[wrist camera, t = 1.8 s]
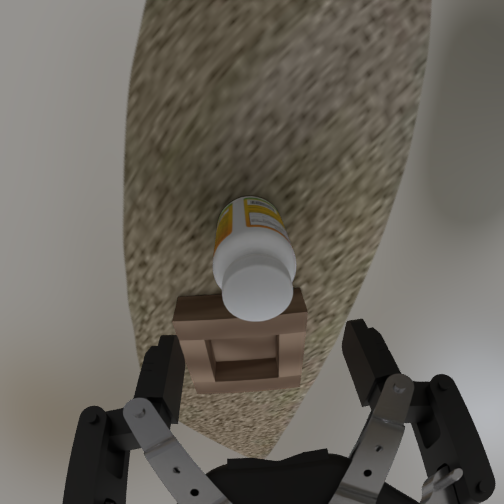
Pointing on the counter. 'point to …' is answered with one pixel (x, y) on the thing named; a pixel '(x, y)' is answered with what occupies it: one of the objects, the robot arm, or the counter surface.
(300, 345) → the socket block
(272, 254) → the supplement bottle
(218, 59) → the counter surface
